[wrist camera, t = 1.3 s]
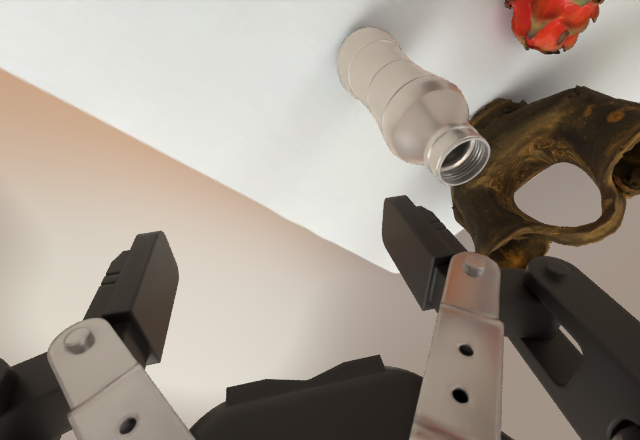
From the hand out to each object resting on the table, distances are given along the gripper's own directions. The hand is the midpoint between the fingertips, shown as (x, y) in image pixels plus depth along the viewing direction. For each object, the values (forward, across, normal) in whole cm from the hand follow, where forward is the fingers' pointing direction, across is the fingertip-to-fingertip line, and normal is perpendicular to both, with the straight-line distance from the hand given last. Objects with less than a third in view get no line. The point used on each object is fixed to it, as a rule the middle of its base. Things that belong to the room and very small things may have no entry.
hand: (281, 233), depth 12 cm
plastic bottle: (+27, -11, -2) cm, 29 cm away
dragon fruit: (+27, -30, -6) cm, 41 cm away
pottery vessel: (+30, -31, +10) cm, 44 cm away
